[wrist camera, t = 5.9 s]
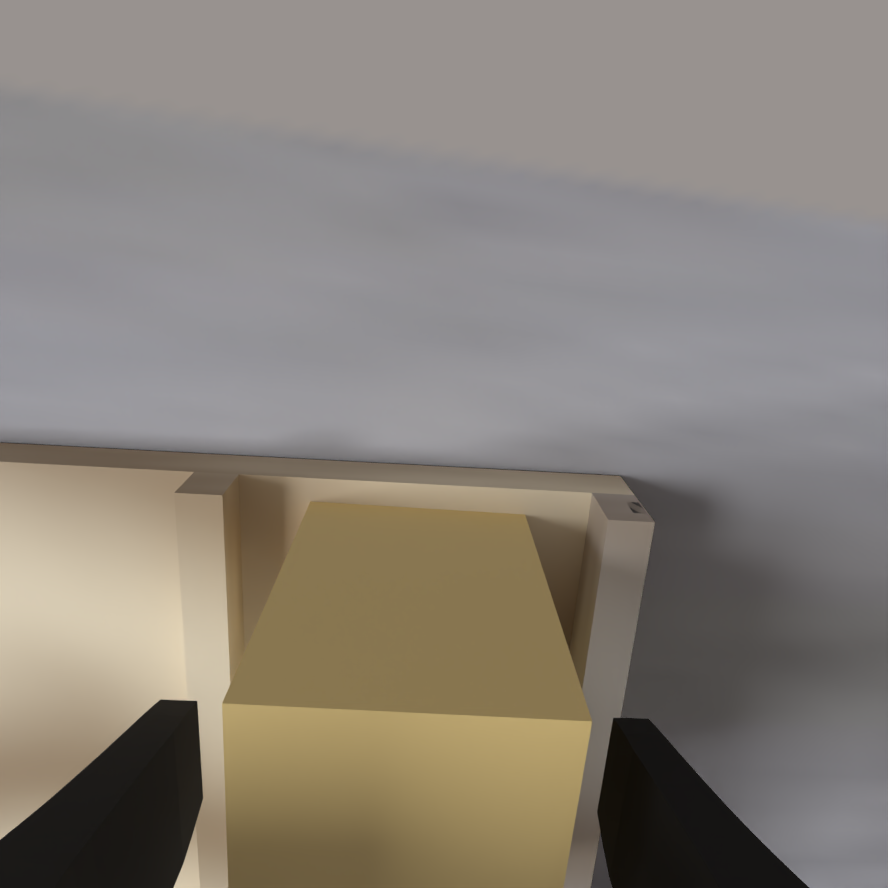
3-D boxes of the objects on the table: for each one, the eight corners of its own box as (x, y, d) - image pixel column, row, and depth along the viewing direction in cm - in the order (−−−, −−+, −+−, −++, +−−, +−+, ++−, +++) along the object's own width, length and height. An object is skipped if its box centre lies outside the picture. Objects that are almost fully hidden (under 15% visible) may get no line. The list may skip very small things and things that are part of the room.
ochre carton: (305, 501, 12) (213, 702, 7) (525, 514, 13) (592, 721, 7) (302, 798, 15) (229, 1120, 9) (490, 806, 15) (522, 1127, 9)
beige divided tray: (535, 1021, 18) (548, 1123, 16) (-141, 1005, 18) (-218, 1110, 16) (619, 475, 13) (655, 522, 11) (-314, 425, 13) (-461, 465, 11)
